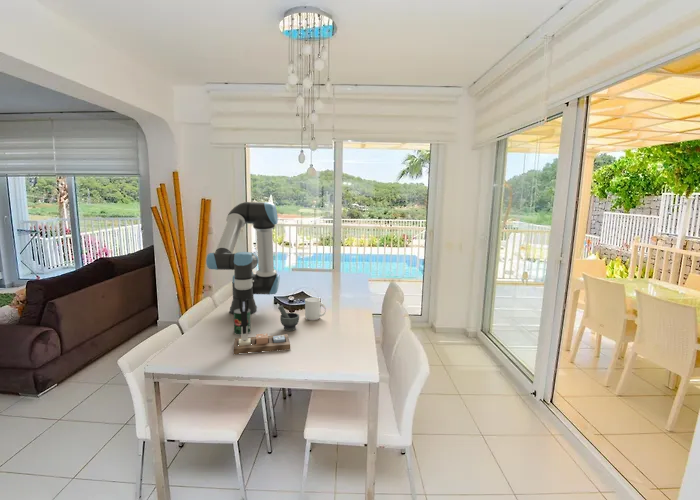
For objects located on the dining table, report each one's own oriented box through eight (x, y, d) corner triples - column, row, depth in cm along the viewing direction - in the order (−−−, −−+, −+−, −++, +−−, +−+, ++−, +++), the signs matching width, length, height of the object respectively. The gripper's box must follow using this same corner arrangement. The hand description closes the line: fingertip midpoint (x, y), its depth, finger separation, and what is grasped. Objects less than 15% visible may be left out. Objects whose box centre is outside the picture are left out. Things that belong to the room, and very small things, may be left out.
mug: (322, 322, 192) (323, 303, 190) (302, 319, 195) (302, 300, 194) (328, 317, 200) (328, 298, 198) (308, 314, 203) (308, 296, 202)
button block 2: (256, 344, 155) (256, 338, 155) (256, 340, 160) (256, 333, 159) (268, 344, 156) (268, 337, 156) (267, 339, 161) (267, 333, 161)
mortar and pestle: (301, 326, 185) (301, 304, 183) (295, 332, 176) (296, 309, 174) (281, 324, 187) (281, 302, 185) (274, 330, 178) (274, 307, 176)
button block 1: (238, 349, 153) (238, 342, 153) (239, 345, 158) (239, 338, 158) (250, 348, 155) (250, 341, 154) (250, 344, 159) (250, 337, 159)
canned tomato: (235, 335, 170) (235, 313, 168) (232, 330, 177) (232, 309, 175) (252, 333, 173) (251, 311, 172) (248, 328, 180) (248, 307, 179)
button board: (233, 354, 149) (233, 349, 149) (234, 343, 161) (234, 338, 161) (290, 349, 156) (290, 344, 156) (287, 339, 167) (287, 334, 167)
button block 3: (273, 346, 157) (273, 339, 157) (273, 342, 162) (273, 335, 162) (285, 345, 159) (285, 338, 158) (284, 341, 163) (284, 334, 163)
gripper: (252, 291, 147) (253, 344, 151) (252, 283, 160) (253, 333, 163) (233, 292, 145) (235, 346, 149) (235, 284, 158) (236, 334, 161)
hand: (244, 339), depth 156 cm, fingers closed
